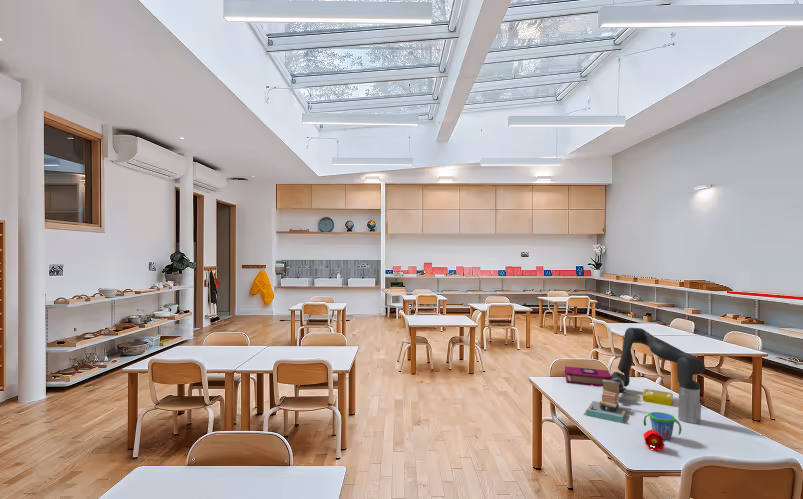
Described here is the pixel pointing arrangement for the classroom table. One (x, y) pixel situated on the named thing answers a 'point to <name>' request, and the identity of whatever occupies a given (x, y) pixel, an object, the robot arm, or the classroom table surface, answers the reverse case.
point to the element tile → (658, 397)
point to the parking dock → (619, 410)
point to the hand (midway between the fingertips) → (612, 392)
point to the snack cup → (663, 424)
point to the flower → (654, 440)
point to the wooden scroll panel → (610, 395)
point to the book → (586, 376)
